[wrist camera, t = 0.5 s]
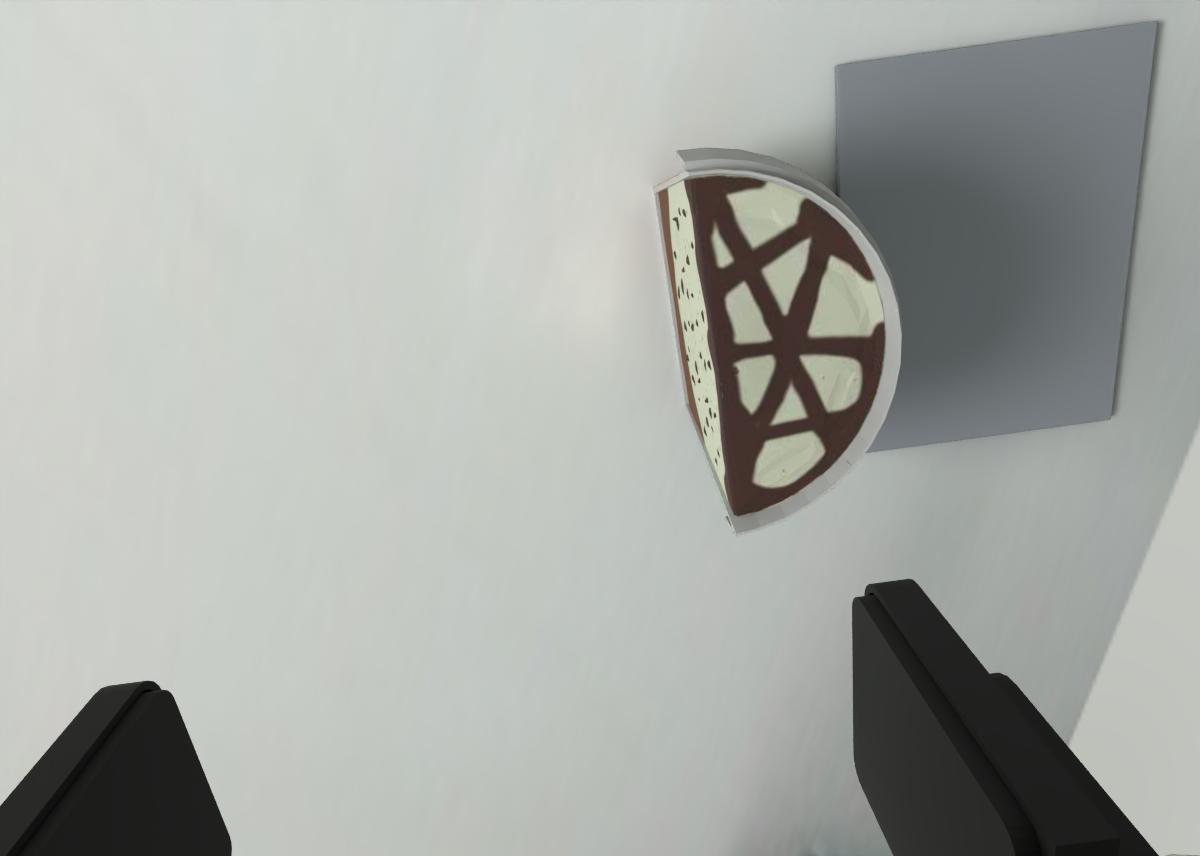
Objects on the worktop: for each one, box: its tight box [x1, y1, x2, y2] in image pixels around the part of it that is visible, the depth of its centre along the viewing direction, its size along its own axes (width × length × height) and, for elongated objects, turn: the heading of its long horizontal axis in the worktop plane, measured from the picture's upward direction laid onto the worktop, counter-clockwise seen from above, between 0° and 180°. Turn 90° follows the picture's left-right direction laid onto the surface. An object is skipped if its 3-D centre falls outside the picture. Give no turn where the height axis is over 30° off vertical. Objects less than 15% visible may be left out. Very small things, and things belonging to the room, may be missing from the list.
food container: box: [653, 148, 902, 536], centre depth 27 cm, size 12×6×10 cm, turn 10°
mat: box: [835, 21, 1157, 453], centre depth 32 cm, size 16×12×1 cm
